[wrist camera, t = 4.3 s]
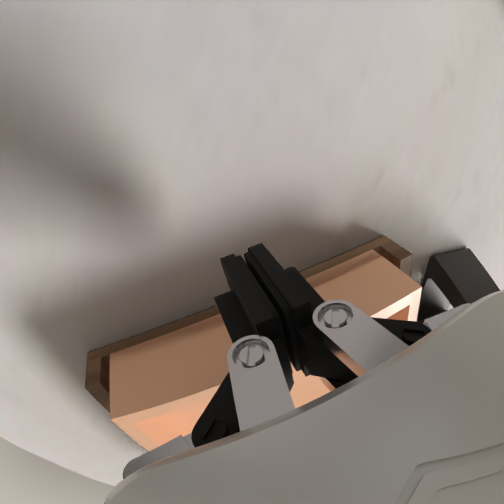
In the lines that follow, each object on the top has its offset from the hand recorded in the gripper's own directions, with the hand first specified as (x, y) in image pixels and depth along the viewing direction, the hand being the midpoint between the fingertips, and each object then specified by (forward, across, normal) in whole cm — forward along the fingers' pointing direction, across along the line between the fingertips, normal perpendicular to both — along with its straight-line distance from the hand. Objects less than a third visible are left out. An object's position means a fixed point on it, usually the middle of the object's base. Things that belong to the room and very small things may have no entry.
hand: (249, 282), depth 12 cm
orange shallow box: (+3, 0, +12) cm, 12 cm away
